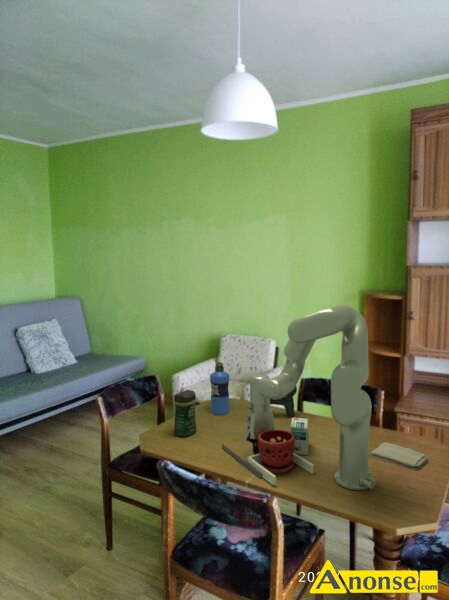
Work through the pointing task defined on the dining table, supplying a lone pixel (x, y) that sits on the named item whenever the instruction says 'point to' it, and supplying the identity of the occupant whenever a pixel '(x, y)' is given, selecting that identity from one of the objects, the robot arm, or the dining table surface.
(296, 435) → the light bulb box
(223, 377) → the water bottle
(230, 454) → the lane rails
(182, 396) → the coffee jar
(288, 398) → the ceramic cat
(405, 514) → the dining table surface
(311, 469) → the white u-shaped frame
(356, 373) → the robot arm
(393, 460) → the washcloth
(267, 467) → the plant pot
